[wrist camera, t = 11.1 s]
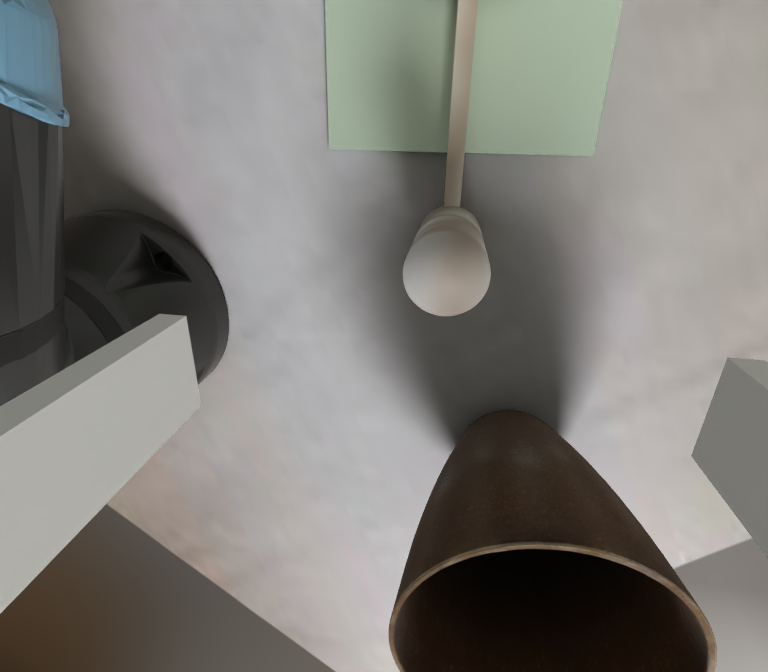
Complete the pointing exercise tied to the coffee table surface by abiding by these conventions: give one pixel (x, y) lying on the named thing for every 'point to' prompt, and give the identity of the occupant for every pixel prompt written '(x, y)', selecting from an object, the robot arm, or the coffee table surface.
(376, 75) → the mat
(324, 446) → the coffee table surface
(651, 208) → the coffee table surface
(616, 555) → the plant pot
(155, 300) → the robot arm
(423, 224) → the tethered block
